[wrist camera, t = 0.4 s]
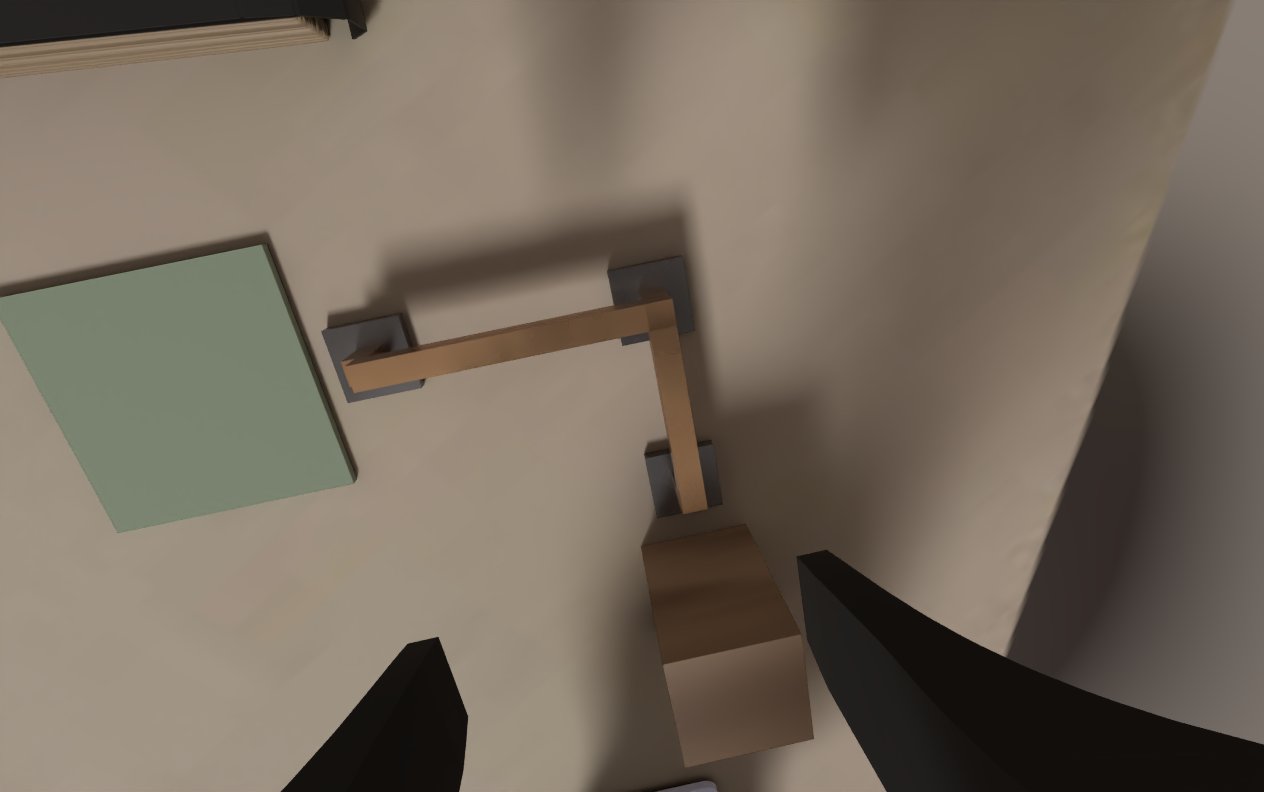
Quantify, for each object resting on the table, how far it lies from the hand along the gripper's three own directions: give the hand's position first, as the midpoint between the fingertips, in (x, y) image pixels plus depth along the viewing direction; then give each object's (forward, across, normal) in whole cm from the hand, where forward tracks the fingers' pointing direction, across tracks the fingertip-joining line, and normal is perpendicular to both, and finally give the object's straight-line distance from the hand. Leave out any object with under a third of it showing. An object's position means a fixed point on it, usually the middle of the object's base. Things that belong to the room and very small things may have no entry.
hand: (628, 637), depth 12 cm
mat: (+10, +12, -5) cm, 17 cm away
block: (+10, -2, +6) cm, 12 cm away
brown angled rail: (+10, +2, -1) cm, 10 cm away
